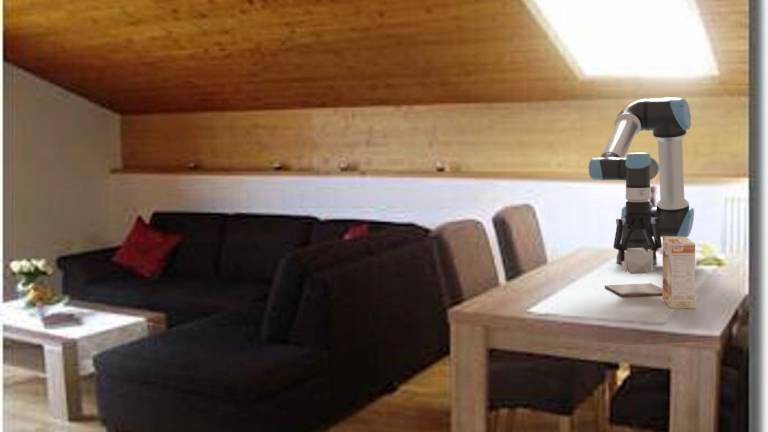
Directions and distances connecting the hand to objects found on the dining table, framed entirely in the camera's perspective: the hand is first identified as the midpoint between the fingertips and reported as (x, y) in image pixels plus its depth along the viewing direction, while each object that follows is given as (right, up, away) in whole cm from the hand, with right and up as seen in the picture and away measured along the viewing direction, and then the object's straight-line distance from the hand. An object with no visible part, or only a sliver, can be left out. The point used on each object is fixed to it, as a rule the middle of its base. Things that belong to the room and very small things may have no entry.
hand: (637, 270), depth 262 cm
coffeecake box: (+7, -9, -18) cm, 21 cm away
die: (0, -1, 0) cm, 1 cm away
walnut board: (0, -7, +1) cm, 7 cm away
